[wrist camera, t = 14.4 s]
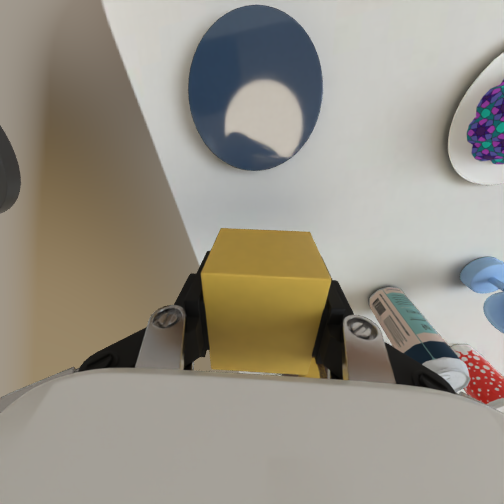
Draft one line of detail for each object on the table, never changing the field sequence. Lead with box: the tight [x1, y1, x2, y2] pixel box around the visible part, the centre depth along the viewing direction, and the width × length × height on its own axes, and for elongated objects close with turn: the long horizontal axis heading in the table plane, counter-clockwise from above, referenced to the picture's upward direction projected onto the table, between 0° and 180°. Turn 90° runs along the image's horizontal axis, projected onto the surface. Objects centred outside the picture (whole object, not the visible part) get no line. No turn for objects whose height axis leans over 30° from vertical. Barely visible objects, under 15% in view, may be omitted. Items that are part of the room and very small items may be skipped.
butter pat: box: [201, 228, 331, 375], centre depth 10 cm, size 4×6×4 cm
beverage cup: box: [450, 344, 504, 413], centre depth 29 cm, size 6×6×14 cm
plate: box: [188, 5, 323, 171], centre depth 20 cm, size 12×12×1 cm
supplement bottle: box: [369, 287, 471, 392], centre depth 26 cm, size 5×5×12 cm
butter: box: [298, 358, 327, 379], centre depth 35 cm, size 4×5×5 cm
